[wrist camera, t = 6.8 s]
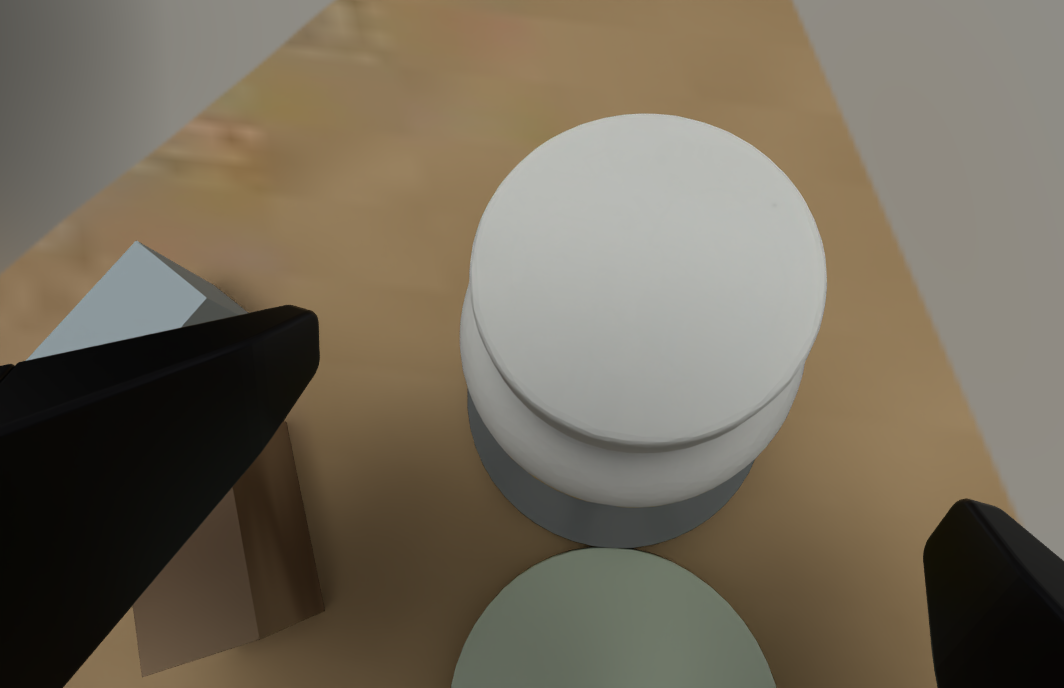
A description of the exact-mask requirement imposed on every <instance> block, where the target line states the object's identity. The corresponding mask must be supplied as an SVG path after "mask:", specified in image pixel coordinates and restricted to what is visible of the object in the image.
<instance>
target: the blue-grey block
mask: <svg viewBox="0 0 1064 688" xmlns="http://www.w3.org/2000/svg"><path fill="white" fill-rule="evenodd" d="M247 313H248V312H247V311H245V310H244V309H243V308H242V307H240V306H239V305H238V304H237V303H235V302H234V301H233V300H232V299H230V298H229V297H228V296H227V295H225V294H224V293H223V292H222V291H220V290H219V289H218V288H217V287H215V286H214V285H213V284H211V283H209V282H207V281H206V280H204V279H202V278H200V277H199V276H197V275H195V274H194V273H192V272H190V271H188V270H187V269H185V268H183V267H181V266H180V265H178V264H176V263H175V262H173V261H171V260H169V259H168V258H166V257H164V256H162V255H161V254H159V253H157V252H155V251H154V250H152V249H150V248H149V247H147V246H145V245H143V244H142V243H140V242H138V241H135V242H134V243H133V245H132V246H131V247H130V248H129V249H128V250H127V251H126V252H125V253H124V254H123V255H122V257H121V258H120V259H119V260H118V261H117V262H116V263H115V264H114V265H113V266H112V267H111V269H110V270H109V271H108V272H107V273H106V274H105V275H104V276H103V277H102V278H101V279H100V280H99V282H98V283H97V284H96V285H95V286H94V287H93V288H92V289H91V290H90V291H89V292H88V294H87V295H86V296H85V297H84V298H83V299H82V300H81V301H80V302H79V303H78V304H77V306H76V307H75V308H74V309H73V310H72V311H71V312H70V313H69V314H68V315H67V316H66V317H65V319H64V320H63V321H62V322H61V323H60V324H59V325H58V326H57V327H56V328H55V329H54V331H53V332H52V333H51V334H50V335H49V336H48V337H47V338H46V339H45V340H44V341H43V343H42V344H41V345H40V346H39V347H38V348H37V349H36V350H35V351H34V352H33V353H32V354H31V356H30V357H29V358H28V359H27V360H31V359H36V358H41V357H46V356H50V355H55V354H60V353H64V352H69V351H74V350H78V349H83V348H88V347H92V346H97V345H102V344H106V343H111V342H116V341H120V340H125V339H130V338H134V337H139V336H144V335H148V334H153V333H158V332H162V331H167V330H172V329H176V328H181V327H186V326H190V325H195V324H200V323H204V322H209V321H214V320H218V319H223V318H228V317H233V316H237V315H242V314H247ZM27 360H26V361H27Z"/></svg>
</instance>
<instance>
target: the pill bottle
mask: <svg viewBox="0 0 1064 688" xmlns="http://www.w3.org/2000/svg"><path fill="white" fill-rule="evenodd" d="M826 290H827V275H826V261H825V253H824V249H823V244H822V239H821V237H820V234H819V231H818V228H817V226H816V223H815V220H814V218H813V216H812V214H811V212H810V210H809V208H808V206H807V204H806V202H805V200H804V199H803V197H802V195H801V194H800V192H799V191H798V189H797V188H796V187H795V186H794V184H793V183H792V182H791V181H790V179H789V178H788V177H787V176H786V175H785V173H784V172H783V171H782V170H781V169H780V168H778V167H777V166H776V165H775V164H774V163H773V162H772V161H771V160H770V159H769V158H768V157H767V156H766V155H764V154H763V153H762V152H760V151H759V150H758V149H756V148H755V147H754V146H752V145H751V144H749V143H747V142H746V141H744V140H742V139H740V138H739V137H737V136H735V135H733V134H731V133H729V132H727V131H725V130H722V129H720V128H717V127H714V126H712V125H709V124H706V123H703V122H700V121H696V120H692V119H688V118H684V117H679V116H673V115H662V114H627V115H619V116H613V117H607V118H603V119H599V120H595V121H592V122H588V123H585V124H581V125H579V126H577V127H574V128H572V129H570V130H567V131H565V132H563V133H561V134H559V135H557V136H555V137H553V138H551V139H549V140H548V141H546V142H545V143H543V144H542V145H540V146H539V147H537V148H536V149H535V150H534V151H532V152H531V153H530V154H529V155H528V156H527V157H525V158H524V159H523V160H522V161H521V162H520V163H519V164H518V165H517V166H516V167H515V168H514V169H513V170H512V171H511V172H510V173H509V174H508V176H507V177H506V178H505V179H504V180H503V182H502V183H501V184H500V186H499V187H498V189H497V190H496V192H495V194H494V195H493V197H492V198H491V200H490V202H489V203H488V205H487V207H486V209H485V211H484V213H483V215H482V218H481V220H480V223H479V226H478V229H477V232H476V235H475V239H474V243H473V248H472V254H471V262H470V282H469V285H468V288H467V292H466V296H465V300H464V304H463V309H462V315H461V322H460V352H461V359H462V367H463V372H464V376H465V379H466V383H467V386H468V390H469V393H470V396H471V398H472V400H473V402H474V405H475V407H476V409H477V411H478V413H479V415H480V417H481V419H482V421H483V422H484V424H485V425H486V427H487V428H488V430H489V431H490V433H491V434H492V436H493V437H494V438H495V440H496V441H497V442H498V444H499V445H500V446H501V447H502V448H503V450H504V451H505V452H506V453H507V454H508V455H509V456H510V457H511V458H512V459H513V460H514V461H515V462H516V463H517V464H519V465H520V466H521V467H522V468H523V469H524V470H526V471H527V472H528V473H529V474H531V475H532V476H533V477H534V478H536V479H538V480H539V481H541V482H543V483H544V484H546V485H548V486H550V487H551V488H553V489H555V490H557V491H560V492H562V493H564V494H567V495H569V496H571V497H574V498H577V499H580V500H583V501H587V502H593V503H599V504H605V505H612V506H618V507H627V508H641V507H655V506H661V505H666V504H671V503H675V502H679V501H683V500H686V499H689V498H692V497H695V496H697V495H700V494H702V493H704V492H707V491H709V490H711V489H713V488H715V487H717V486H718V485H720V484H722V483H724V482H725V481H727V480H729V479H730V478H731V477H733V476H734V475H736V474H737V473H738V472H740V471H741V470H742V469H744V468H745V467H746V466H747V465H749V464H750V463H751V462H752V461H753V460H754V459H755V458H756V457H757V456H758V455H759V454H760V453H761V452H762V451H763V450H764V449H765V448H766V447H767V445H768V444H769V443H770V442H771V440H772V439H773V438H774V436H775V435H776V433H777V432H778V431H779V429H780V428H781V426H782V424H783V422H784V421H785V419H786V417H787V415H788V413H789V411H790V408H791V406H792V404H793V401H794V399H795V396H796V394H797V391H798V388H799V385H800V382H801V378H802V375H803V370H804V364H805V360H806V359H807V357H808V355H809V352H810V350H811V348H812V346H813V344H814V341H815V339H816V337H817V334H818V332H819V329H820V325H821V321H822V317H823V313H824V308H825V301H826Z"/></svg>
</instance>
